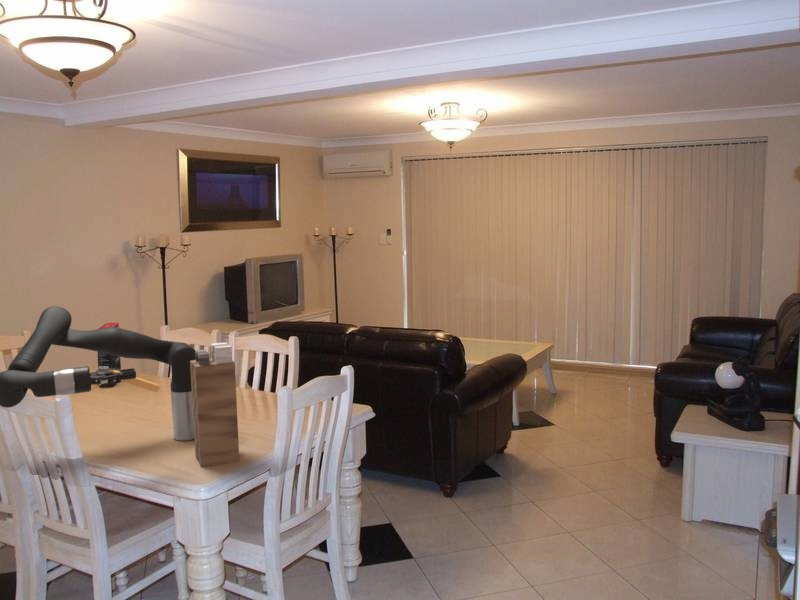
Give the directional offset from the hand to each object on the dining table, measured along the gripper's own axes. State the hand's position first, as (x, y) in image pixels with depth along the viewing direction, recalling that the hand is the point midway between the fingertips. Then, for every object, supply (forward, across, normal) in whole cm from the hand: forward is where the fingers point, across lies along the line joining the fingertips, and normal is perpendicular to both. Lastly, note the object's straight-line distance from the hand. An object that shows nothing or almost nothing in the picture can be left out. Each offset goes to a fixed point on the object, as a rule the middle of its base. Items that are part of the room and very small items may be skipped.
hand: (135, 373), depth 211 cm
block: (0, 0, -3) cm, 3 cm away
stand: (+23, 0, -31) cm, 39 cm away
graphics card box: (-2, -122, -31) cm, 126 cm away
